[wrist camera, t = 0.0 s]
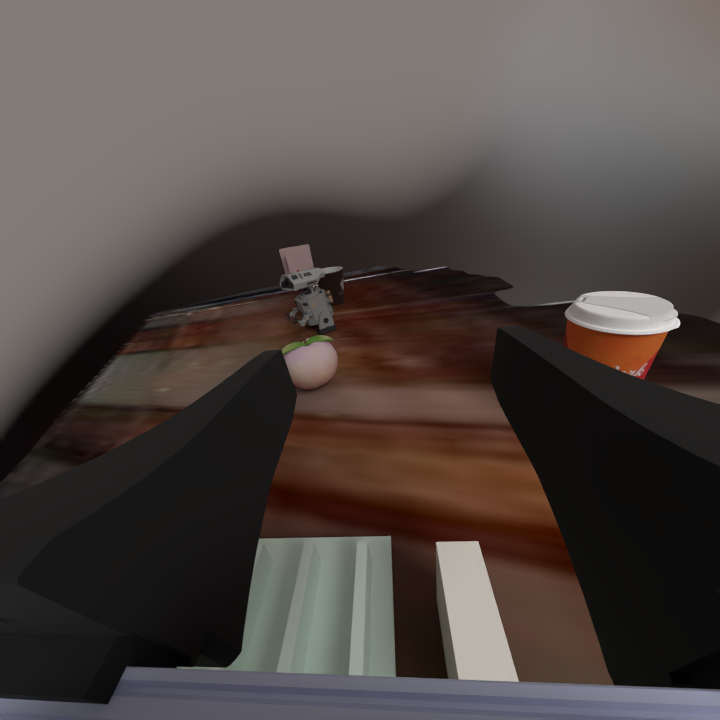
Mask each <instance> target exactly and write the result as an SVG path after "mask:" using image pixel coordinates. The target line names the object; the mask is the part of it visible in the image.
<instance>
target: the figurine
mask: <svg viewBox="0 0 720 720" xmlns="http://www.w3.org/2000/svg"><path fill="white" fill-rule="evenodd" d="M324 276H325V272H324V271H323V270H321V269H320V268H310V269H306V270H302V271H299V270H297V272H293V273H289V274H285V275H282V276H281V280H280V286H281V288H282V289H283V290H298V289H299V291H301V292H302V293H300V294H299V295H298V296H297V297H296V298H295V299H294V300H295V303H296V305H297V307H296V308H293V311H292V312H290V315H288V314H286V315H287V316H288V317H289V319H288V320H290V317H295V314H296V313H297V312H298V310H299V311H300V313H301V315H302V317H303V320H301V321H299V320H297V319H296V318H294V320H296V322H295V323H299V324H300V326H305V323H307V325H308V326H312V325H318V326H319V328H318V332H319V333H320V334H322V335H323V334H324V333H325V334H326V333H327V332H328V331H329V332H331V331H332V330H333V331H334V330H335V329H336V326H335V324H334V321H333V318H332V315H333V313H334V312H333V311H334V309H333V307H332V305H330V304H333V303H334V301H333V299H332V296H331V293H330V291H329V290H327V289H326V288H318V286H316V284H318V282H319V280H320V278H322V277H324ZM313 285H315V287H314V288H313ZM323 289H326V292H325V290H323ZM293 323H294V321H293ZM295 323H294V324H295Z"/></svg>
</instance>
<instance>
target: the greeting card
mask: <svg viewBox="0 0 720 720" xmlns="http://www.w3.org/2000/svg"><path fill="white" fill-rule="evenodd" d="M279 251H280V255H281V258H282V262H283V266H284V270H285V274H289V273H293V272H297V270H299V271H302V270H306V269H310V268H314V267H313V262H312V257H311V253H310V248H309V244H308V245H301V246H296V247H290V248H285V249H280V250H279ZM298 290H299V289H298ZM294 291H296V290H294Z"/></svg>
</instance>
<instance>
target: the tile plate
mask: <svg viewBox="0 0 720 720" xmlns="http://www.w3.org/2000/svg"><path fill="white" fill-rule="evenodd" d="M436 576H437V605H438V612H439V619H440V626H441V633H442V640H443V647H444V654H445V661H446V668H447V675H448V679H462V680H487V681H513V682H519V681H518V678H517V674H516V671H515V667H514V664H513V660H512V657H511V653H510V650H509V646H508V643H507V639H506V636H505V633H504V629H503V626H502V622H501V619H500V615H499V612H498V608H497V605H496V601H495V598H494V594H493V591H492V588H491V584H490V581H489V577H488V574H487V570H486V567H485V563H484V560H483V556H482V553H481V549H480V546H479V543H478V541H474V542H436Z"/></svg>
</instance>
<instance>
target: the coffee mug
mask: <svg viewBox="0 0 720 720" xmlns="http://www.w3.org/2000/svg"><path fill="white" fill-rule="evenodd" d="M321 270H323V271H324V272H325V276H324V277H322V278H320V280H319V282H318V286H319V288H326V289H327V290H329V291H330V293H331V296H332V299H333V301H334V303H333V304H330V305H332V306H334V305H338V304H341V303H343V302H344V285H343V268H342V267H329V268H324V269H321ZM326 289H323V290H325V292H326Z"/></svg>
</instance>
